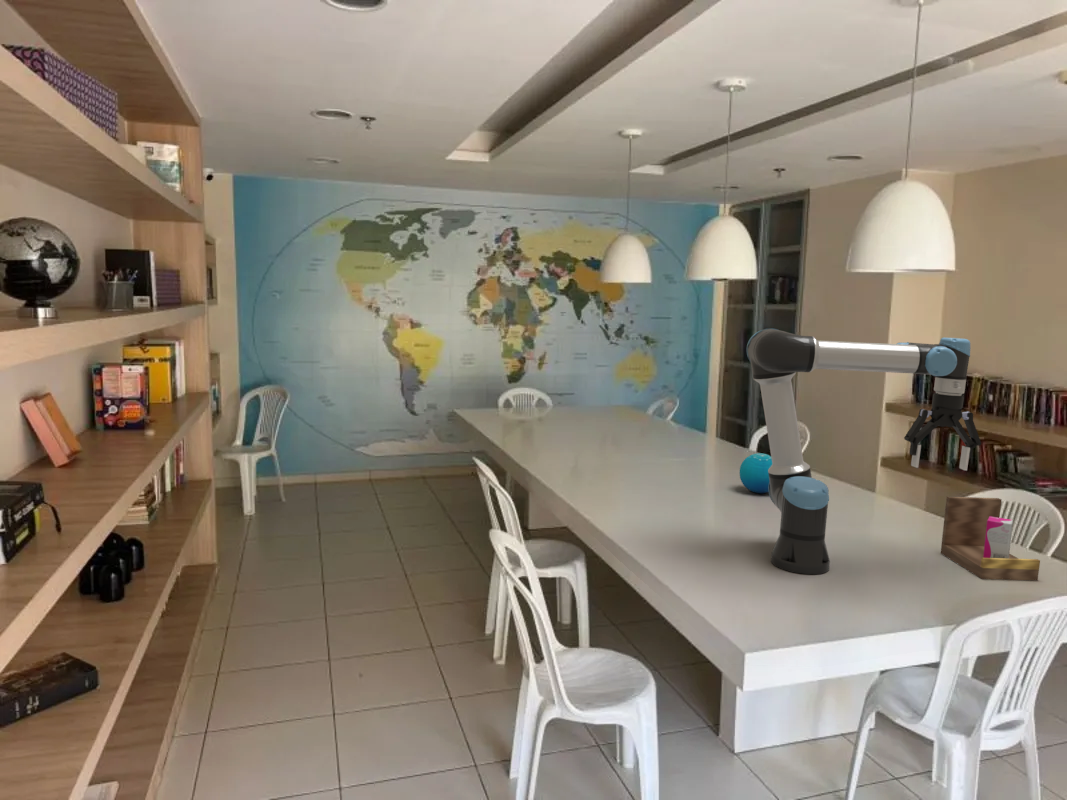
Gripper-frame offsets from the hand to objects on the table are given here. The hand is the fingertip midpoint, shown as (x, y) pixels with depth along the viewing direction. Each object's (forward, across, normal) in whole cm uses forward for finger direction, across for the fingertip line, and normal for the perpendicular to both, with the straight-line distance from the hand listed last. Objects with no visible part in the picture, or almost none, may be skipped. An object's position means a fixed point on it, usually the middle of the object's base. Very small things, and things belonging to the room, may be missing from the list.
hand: (938, 468), depth 210 cm
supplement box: (+23, +14, -9) cm, 28 cm away
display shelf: (+26, +14, -6) cm, 30 cm away
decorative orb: (+27, -30, +67) cm, 78 cm away
